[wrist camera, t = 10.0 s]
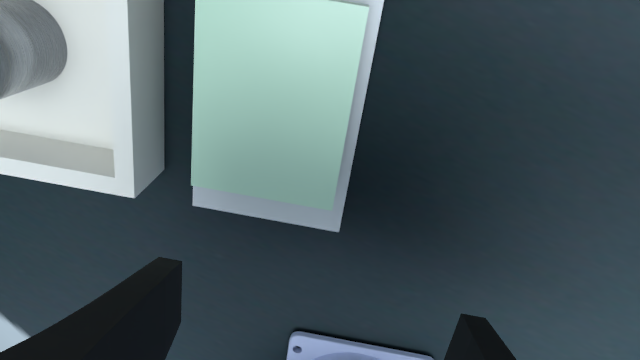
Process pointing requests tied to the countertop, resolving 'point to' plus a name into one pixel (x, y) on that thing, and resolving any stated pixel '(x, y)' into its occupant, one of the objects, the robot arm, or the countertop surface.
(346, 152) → the base
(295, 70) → the mint green flat block
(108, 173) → the white tray
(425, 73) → the countertop surface
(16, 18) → the cell
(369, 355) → the robot arm
